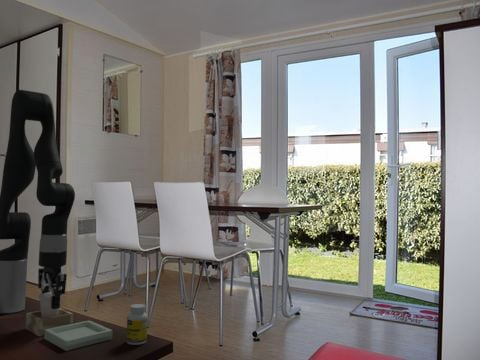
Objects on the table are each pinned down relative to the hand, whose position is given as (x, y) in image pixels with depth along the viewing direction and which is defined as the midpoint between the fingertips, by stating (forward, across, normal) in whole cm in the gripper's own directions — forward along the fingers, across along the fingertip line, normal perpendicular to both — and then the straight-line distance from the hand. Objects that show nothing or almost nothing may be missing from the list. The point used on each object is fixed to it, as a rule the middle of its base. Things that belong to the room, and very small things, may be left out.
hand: (50, 306), depth 121 cm
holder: (+7, 0, 0) cm, 7 cm away
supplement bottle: (+7, +27, +12) cm, 30 cm away
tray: (+6, +14, +2) cm, 16 cm away
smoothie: (+6, 0, 0) cm, 6 cm away
